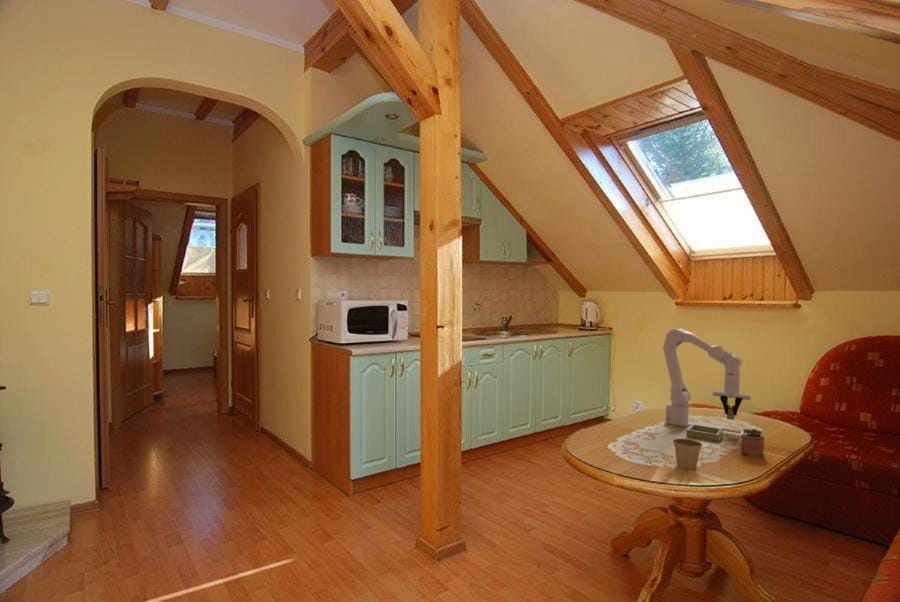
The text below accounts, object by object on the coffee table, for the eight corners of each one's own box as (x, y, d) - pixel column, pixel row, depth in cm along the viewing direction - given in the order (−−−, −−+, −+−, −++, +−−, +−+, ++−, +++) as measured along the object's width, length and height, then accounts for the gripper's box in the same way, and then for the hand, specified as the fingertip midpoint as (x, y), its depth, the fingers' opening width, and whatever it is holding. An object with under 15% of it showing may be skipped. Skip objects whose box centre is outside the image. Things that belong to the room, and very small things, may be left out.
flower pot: (694, 462, 182) (695, 438, 182) (706, 472, 173) (707, 446, 173) (667, 461, 183) (668, 437, 182) (678, 471, 173) (679, 445, 173)
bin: (686, 436, 216) (686, 429, 216) (692, 430, 225) (692, 424, 225) (718, 442, 209) (718, 434, 209) (722, 435, 218) (722, 428, 218)
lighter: (761, 454, 193) (762, 428, 193) (765, 457, 190) (766, 431, 190) (738, 453, 194) (739, 427, 194) (742, 456, 191) (743, 429, 191)
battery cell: (726, 418, 222) (726, 405, 222) (727, 417, 225) (727, 404, 225) (734, 420, 221) (734, 406, 220) (734, 418, 223) (735, 405, 223)
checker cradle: (715, 433, 222) (715, 431, 222) (719, 428, 230) (719, 426, 230) (741, 437, 216) (741, 435, 216) (744, 432, 224) (744, 430, 224)
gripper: (711, 382, 223) (710, 413, 224) (750, 386, 215) (748, 418, 215) (714, 380, 229) (713, 410, 229) (751, 384, 221) (750, 415, 221)
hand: (730, 414), depth 223 cm, fingers closed on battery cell, 3 cm apart
